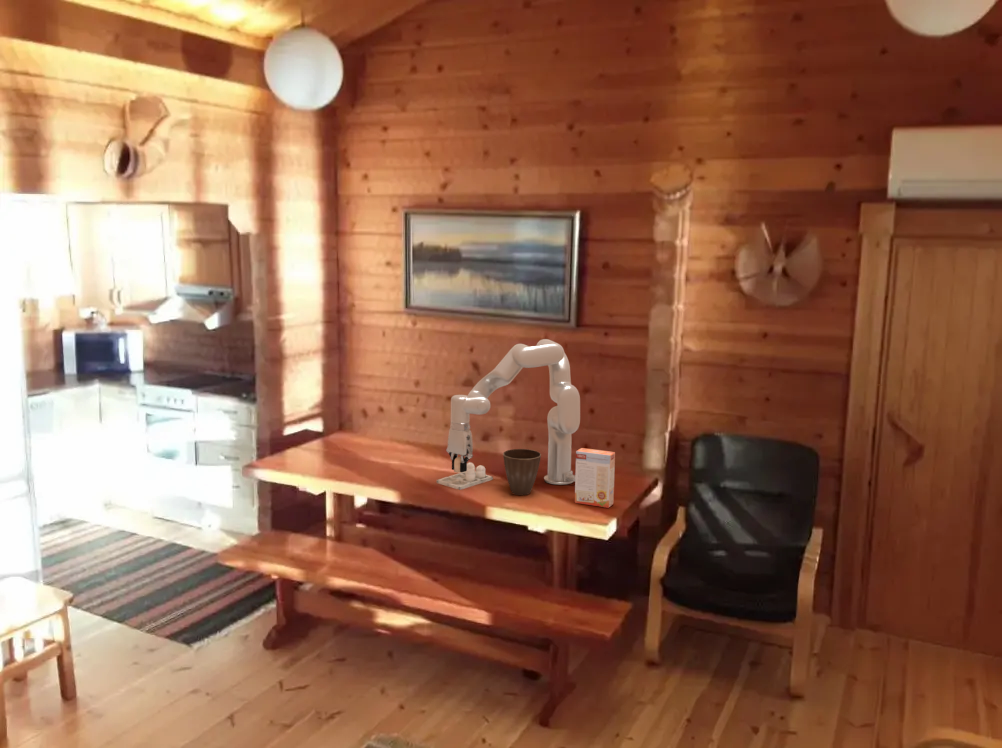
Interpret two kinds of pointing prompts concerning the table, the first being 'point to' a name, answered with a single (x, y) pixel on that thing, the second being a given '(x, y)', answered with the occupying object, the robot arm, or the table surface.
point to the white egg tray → (461, 481)
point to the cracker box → (594, 477)
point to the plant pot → (521, 469)
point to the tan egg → (457, 465)
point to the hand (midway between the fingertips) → (459, 469)
